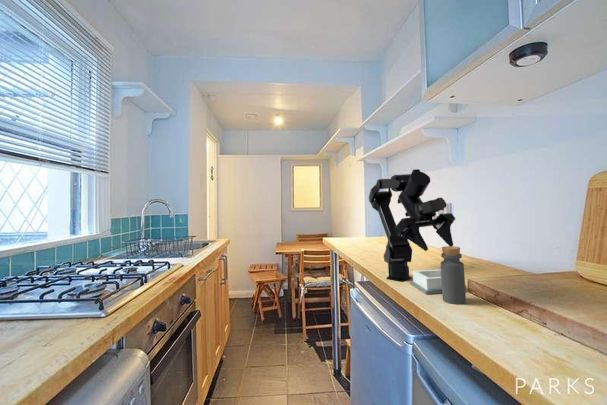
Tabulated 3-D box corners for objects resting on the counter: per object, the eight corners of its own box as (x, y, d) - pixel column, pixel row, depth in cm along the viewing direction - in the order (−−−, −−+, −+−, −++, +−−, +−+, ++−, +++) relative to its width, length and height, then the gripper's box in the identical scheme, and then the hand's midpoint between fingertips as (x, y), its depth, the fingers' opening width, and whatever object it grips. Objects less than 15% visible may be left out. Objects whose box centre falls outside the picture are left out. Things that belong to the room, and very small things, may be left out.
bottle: (445, 304, 78) (442, 249, 78) (440, 297, 84) (437, 246, 84) (469, 304, 77) (465, 248, 77) (462, 297, 83) (459, 245, 83)
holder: (410, 283, 99) (409, 270, 99) (444, 281, 99) (443, 268, 99) (426, 294, 87) (425, 279, 87) (464, 291, 87) (463, 277, 87)
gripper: (401, 191, 82) (428, 237, 74) (451, 187, 88) (482, 229, 80) (384, 214, 91) (407, 257, 82) (431, 208, 97) (458, 249, 88)
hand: (439, 248), depth 83 cm, fingers open, 9 cm apart
